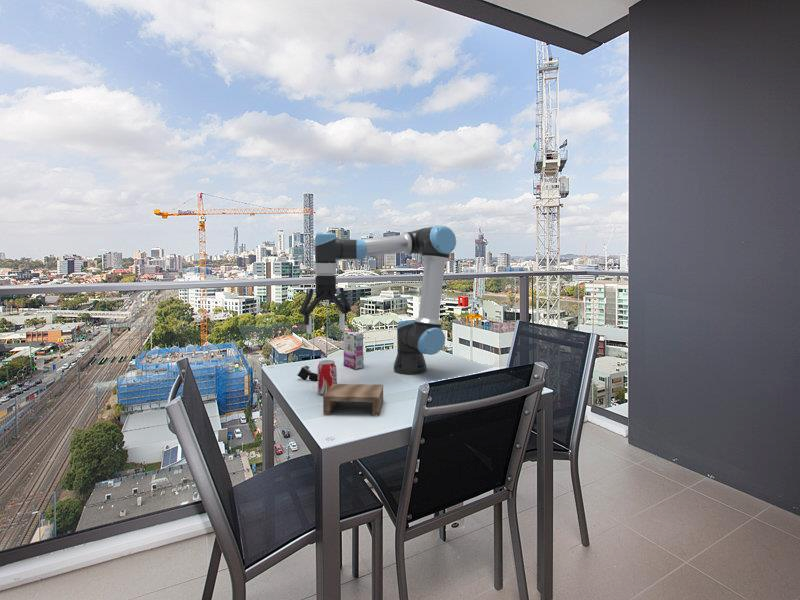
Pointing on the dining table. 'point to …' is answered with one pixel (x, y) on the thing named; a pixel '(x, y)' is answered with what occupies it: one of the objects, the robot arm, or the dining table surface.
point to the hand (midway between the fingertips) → (326, 332)
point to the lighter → (307, 374)
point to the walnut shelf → (353, 396)
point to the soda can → (326, 375)
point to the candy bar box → (353, 350)
